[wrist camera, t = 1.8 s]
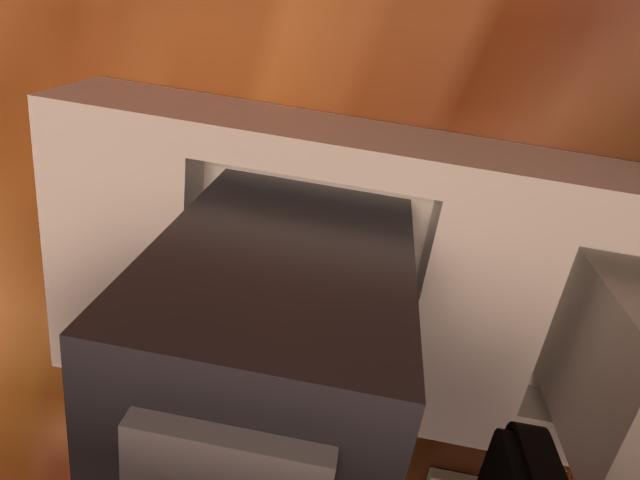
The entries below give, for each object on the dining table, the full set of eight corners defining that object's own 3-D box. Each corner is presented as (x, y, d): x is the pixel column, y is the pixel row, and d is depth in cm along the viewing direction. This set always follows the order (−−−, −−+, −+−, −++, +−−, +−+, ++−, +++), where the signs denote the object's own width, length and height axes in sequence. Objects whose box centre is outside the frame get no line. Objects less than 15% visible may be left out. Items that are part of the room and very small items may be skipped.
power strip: (1281, 265, 14) (1617, 366, 10) (1065, 484, 18) (1257, 624, 14) (99, 75, 16) (5, 100, 12) (108, 305, 19) (35, 383, 16)
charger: (410, 199, 14) (427, 427, 7) (377, 353, 16) (362, 661, 9) (226, 168, 15) (41, 352, 7) (216, 324, 17) (65, 596, 9)
